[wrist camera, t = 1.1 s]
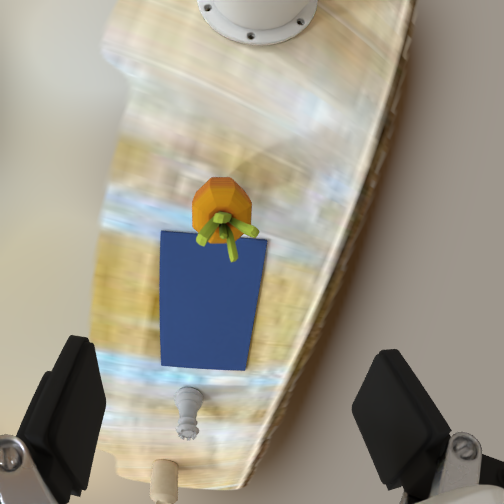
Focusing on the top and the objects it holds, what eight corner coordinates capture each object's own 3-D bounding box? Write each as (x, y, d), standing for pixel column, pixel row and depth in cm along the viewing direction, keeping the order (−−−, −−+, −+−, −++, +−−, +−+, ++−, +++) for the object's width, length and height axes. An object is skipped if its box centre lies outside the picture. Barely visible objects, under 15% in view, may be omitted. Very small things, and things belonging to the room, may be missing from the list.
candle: (159, 456, 53) (156, 497, 44) (182, 464, 55) (182, 504, 46) (148, 465, 55) (145, 503, 46) (170, 472, 57) (169, 510, 47)
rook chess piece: (190, 381, 45) (188, 423, 38) (208, 397, 47) (210, 437, 39) (168, 392, 46) (164, 433, 38) (187, 407, 47) (186, 446, 40)
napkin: (161, 230, 35) (160, 231, 35) (267, 239, 37) (267, 241, 37) (161, 363, 43) (161, 365, 43) (244, 368, 45) (245, 370, 45)
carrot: (250, 175, 34) (276, 217, 20) (231, 216, 36) (243, 282, 22) (207, 157, 33) (202, 187, 19) (189, 199, 34) (173, 257, 21)
